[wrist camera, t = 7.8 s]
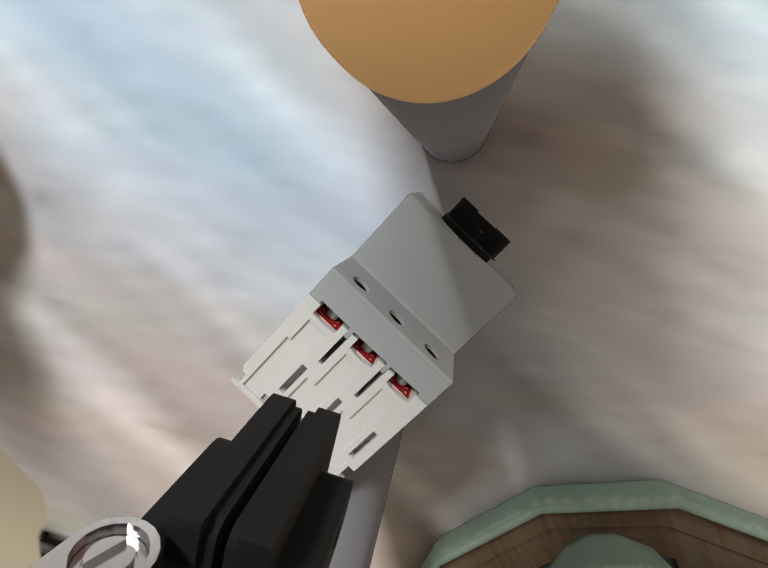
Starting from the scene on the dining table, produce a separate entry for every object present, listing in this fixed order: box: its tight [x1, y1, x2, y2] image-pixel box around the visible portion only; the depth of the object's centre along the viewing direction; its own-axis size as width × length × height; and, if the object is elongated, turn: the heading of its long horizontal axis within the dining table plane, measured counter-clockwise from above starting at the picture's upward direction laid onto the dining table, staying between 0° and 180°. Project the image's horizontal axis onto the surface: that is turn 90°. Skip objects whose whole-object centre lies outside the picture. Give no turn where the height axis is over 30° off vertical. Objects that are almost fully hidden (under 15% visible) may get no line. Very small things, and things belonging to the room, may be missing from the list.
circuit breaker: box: [230, 192, 516, 478], centre depth 28 cm, size 8×14×15 cm, turn 137°
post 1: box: [329, 427, 404, 568], centre depth 26 cm, size 5×5×25 cm
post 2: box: [299, 0, 559, 162], centre depth 20 cm, size 5×5×25 cm
